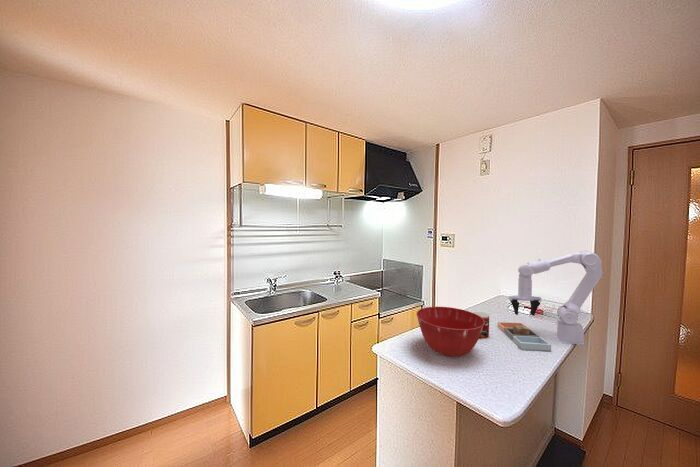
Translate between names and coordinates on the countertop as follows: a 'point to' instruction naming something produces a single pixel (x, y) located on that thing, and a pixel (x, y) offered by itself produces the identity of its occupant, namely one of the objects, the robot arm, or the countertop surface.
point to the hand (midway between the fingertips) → (524, 314)
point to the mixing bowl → (450, 330)
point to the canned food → (486, 326)
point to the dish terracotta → (507, 325)
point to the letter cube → (520, 330)
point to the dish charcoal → (510, 334)
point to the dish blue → (532, 343)
